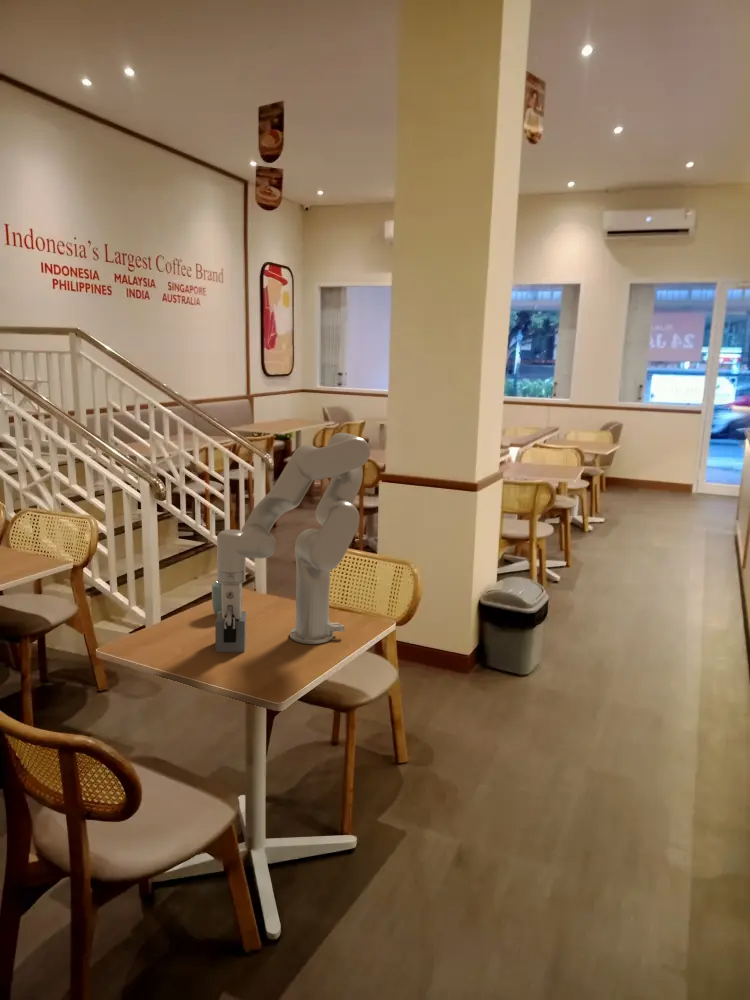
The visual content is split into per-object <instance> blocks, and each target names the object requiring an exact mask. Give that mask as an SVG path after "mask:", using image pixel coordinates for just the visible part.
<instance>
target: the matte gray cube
mask: <svg viewBox="0 0 750 1000" xmlns="http://www.w3.org/2000/svg"><path fill="white" fill-rule="evenodd" d="M232 617H234V616H232ZM232 621H233V620H232ZM214 625H215V637H214V638H215V639H214V640H215V648H214V649H215V653H245V651H246V650H245V649H246V641H247V611H246V610H245V611H243V610H242V615H241V618H240V619H239V620H238V619H236V618H235V628H236V642H235V643H224V625H225V620H224V619H223V618H222V612H218V614H217V615H216V617H215V624H214Z"/></svg>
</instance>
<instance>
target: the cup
mask: <svg viewBox="0 0 750 1000" xmlns="http://www.w3.org/2000/svg"><path fill="white" fill-rule="evenodd" d="M211 585H212V586H211V603H212V610H213V613H214V614H215V616H217V614H218V612H222V584H220V583H218V582H217V581H215V582H213V583H212V584H211Z"/></svg>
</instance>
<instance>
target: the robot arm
mask: <svg viewBox="0 0 750 1000" xmlns="http://www.w3.org/2000/svg"><path fill="white" fill-rule="evenodd" d="M370 456H371V447H370V445H369V443H368V442H367V441H366V439H364V438H363V437H360V436H358V435H355V434H350V433H347V432H338V433H335V434H333V435H332V436H331V437H330V438H329V441H328V443H327V446H323V447H316V446H314V445H313V446H312V445H306V444H304V445H300V446H299V447H298V448H296V449H295V450H294V451H293V453H292V455H291V456H290V458H289V460H288V462H287V463H286V465H285V466H284V468H283V470H282V472H281V473H280V475H279V476H278V478H277V480H276V482H275V483H274V485H273V487H272V488H271V490H270V491H269V492H268V493H267V494H266V495H265V496H264V497H263V498H262V499H261V500H260V501H259V502H257V504H256V506H255V507H254V508H253V509H252V511H251V513H250V515H249V516H248V518H247V519H246V521H245V522H244V525H243V527H242V529H241V530H240V529H225V530H221V531H219V533H218V534H217V538H216V543H217V545H216V548H217V549H216V550H217V551H216V552H217V553H216V566H217V567H216V568H217V569H216V573H217V574H216V582H218V583H220V584H222V618H223V619H224V620H225V625H224V643H235V642H236V628H235V618H236V619H238V620H239V619H240V618H241V615H242V611H243V583H245V582H246V564H247V563H246V559H248V558H249V559H261V560H262V559H267V558H270V557H271V556H272V555H273V554H274V553H275V552H276V549H277V540H276V538H275V537H274V536H273V534H272V533H270V531H271V529H272V528H273V526H274V524H275V523H276V522H277V520H279V518H280V517H281V516H282V515H283V514H285V513H286V512H289V511H291V510H293V509H296V508H297V507H298V506H299V505H300V503H302V501H303V498H304V497H305V495H306V494H307V492H308V490H309V489H310V487H311V485H312V483H313V482H314V481H322V480H326V479H330V478H331V479H330V480H329V483H328V485H327V487H326V488H325V491H324V492H323V495H322V497H321V498H320V501H319V503H318V505H317V506H316V509H315V513H314V515H315V518H316V521H317V522H318V524H319V525H321V526H322V527H321V529H319V528H318V529H317V528H307V529H305V530H303V531H302V532H301V533H299V535H297V538H296V540H295V545H294V556H295V566H296V567H295V568H296V583H295V584H296V585H295V586H296V587H295V588H296V589H295V590H296V591H295V627H293V628H292V629H291V630H290V632H289V637H290V639H291V640H293V641H294V642H296V643H300V644H305V645H315V644H316V645H319V644H324V643H326V642H329V641H331V640H332V639H333V638H334V633H335V632H338V633H339V632H342V633H343V632H345V624H340V622H332V621H330V617H329V616H330V615H329V614H330V592H331V591H330V588H331V586H330V585H331V571H332V570H334V569H336V567H338V566H339V565H340V563H341V561H342V560H343V559H344V557H345V555H346V553H347V551H348V549H349V547H350V545H351V543H352V541H353V539H354V538H355V535H356V533H357V531H358V528H359V526H360V512H359V510H358V508H357V507H356V506H355V505H354V503H355V500H356V497H357V495H358V493H359V491H360V488H361V486H362V483H363V475H364V472H363V466H364V465H365V464H366V463H367V462H368V461H369V459H370ZM232 616H234V617H232ZM232 620H233V621H232Z"/></svg>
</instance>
